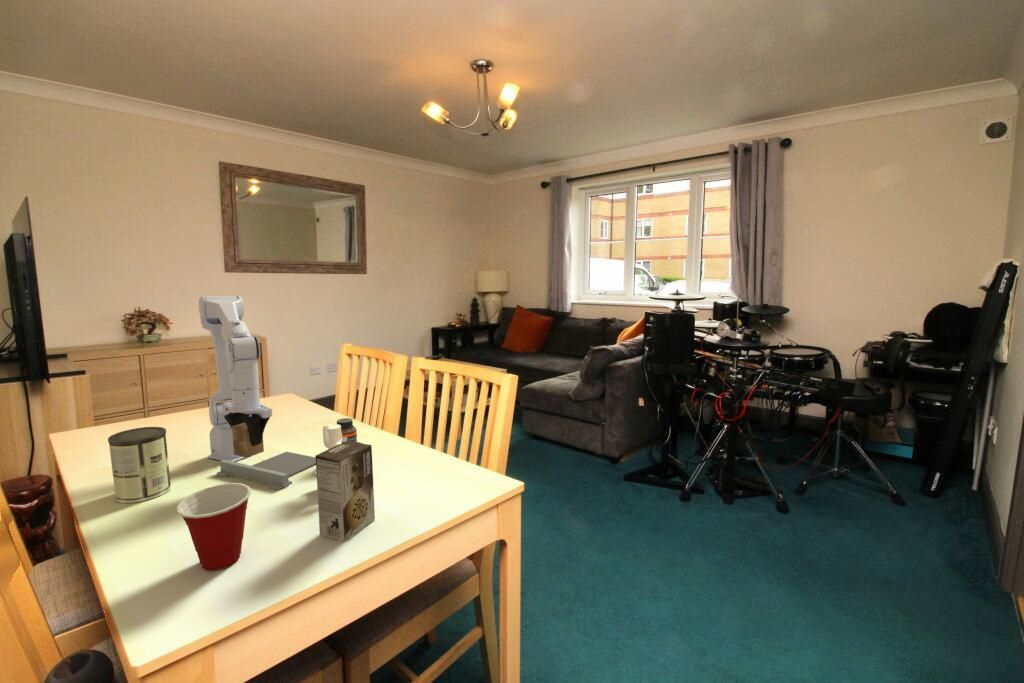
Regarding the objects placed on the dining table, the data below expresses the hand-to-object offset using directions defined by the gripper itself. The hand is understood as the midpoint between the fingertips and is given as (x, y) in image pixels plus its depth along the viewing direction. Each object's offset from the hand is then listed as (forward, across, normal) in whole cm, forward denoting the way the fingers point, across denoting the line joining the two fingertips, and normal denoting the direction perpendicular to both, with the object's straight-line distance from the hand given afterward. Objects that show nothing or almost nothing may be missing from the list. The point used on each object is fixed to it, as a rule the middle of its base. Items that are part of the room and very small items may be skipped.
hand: (249, 442), depth 115 cm
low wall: (+9, 0, 0) cm, 9 cm away
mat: (+9, 0, +10) cm, 14 cm away
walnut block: (+2, 0, 0) cm, 3 cm away
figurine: (+10, +22, +5) cm, 25 cm away
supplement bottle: (+10, +12, +19) cm, 24 cm away
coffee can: (+10, -16, -15) cm, 24 cm away
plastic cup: (+9, +25, -26) cm, 37 cm away
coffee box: (+10, +37, -8) cm, 39 cm away
